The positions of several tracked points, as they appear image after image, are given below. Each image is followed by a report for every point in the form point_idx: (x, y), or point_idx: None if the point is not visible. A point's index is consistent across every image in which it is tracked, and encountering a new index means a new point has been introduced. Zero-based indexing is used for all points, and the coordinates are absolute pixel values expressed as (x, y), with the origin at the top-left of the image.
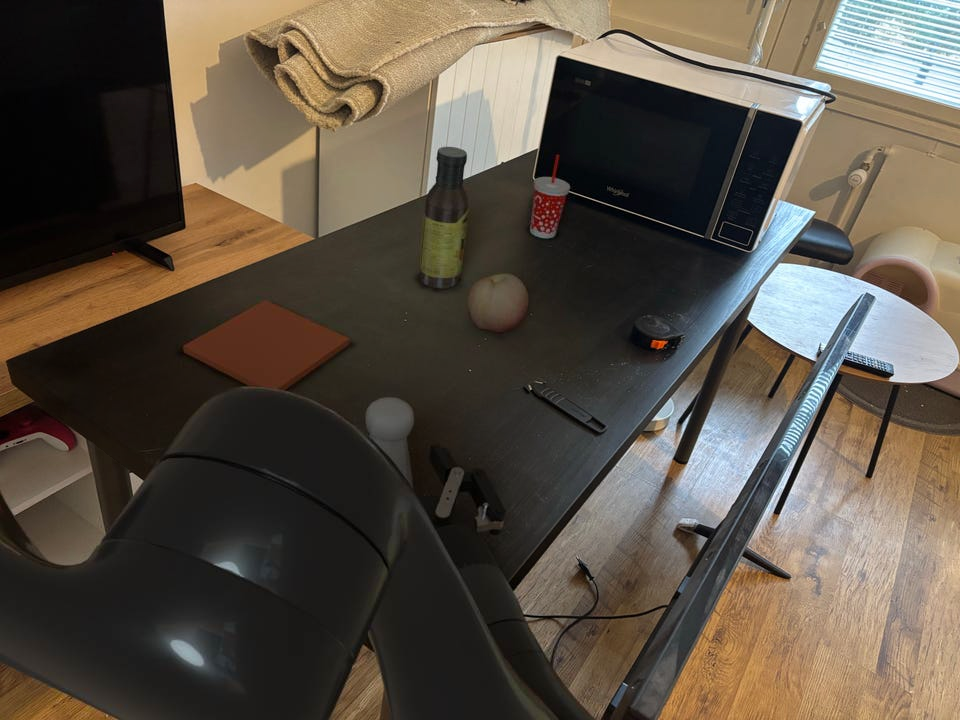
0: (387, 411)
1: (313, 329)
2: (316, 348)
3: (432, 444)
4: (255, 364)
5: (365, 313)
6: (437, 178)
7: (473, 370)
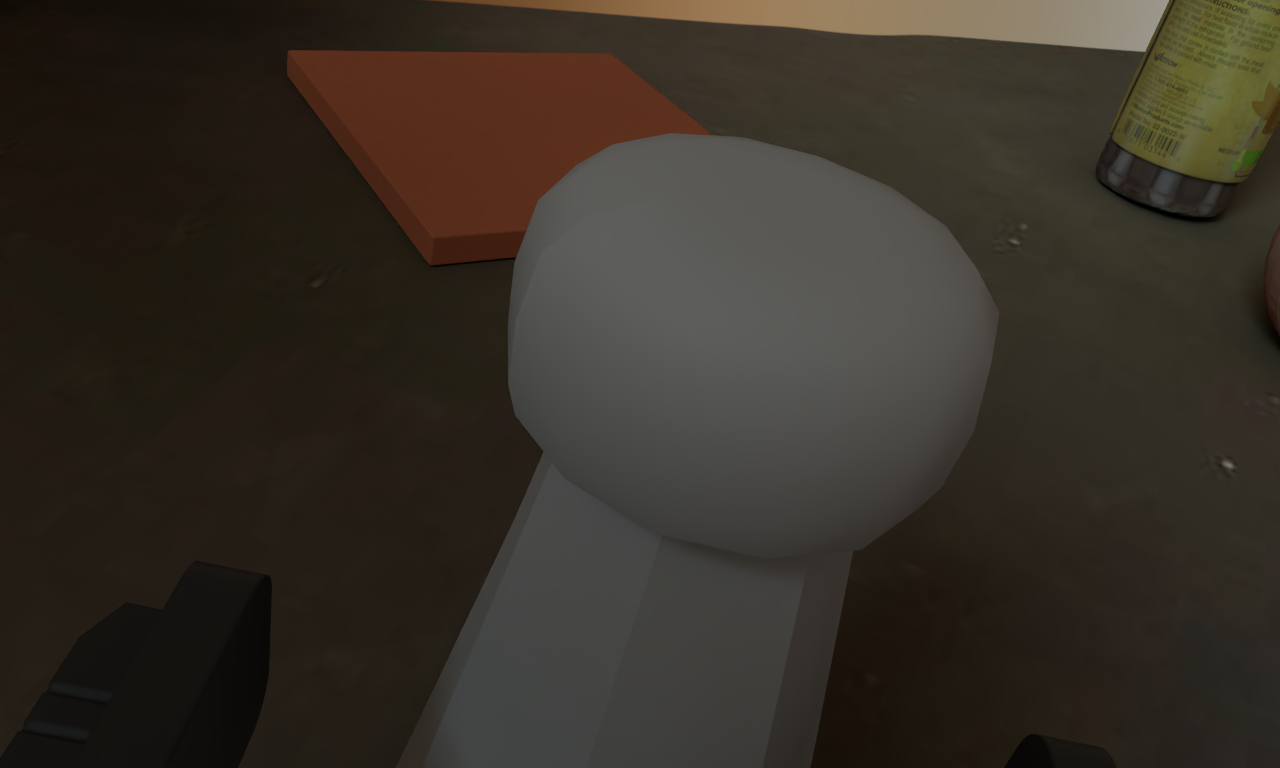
0: (734, 207)
1: None
2: None
3: (1049, 737)
4: (447, 155)
5: (889, 183)
6: None
7: (1243, 470)
